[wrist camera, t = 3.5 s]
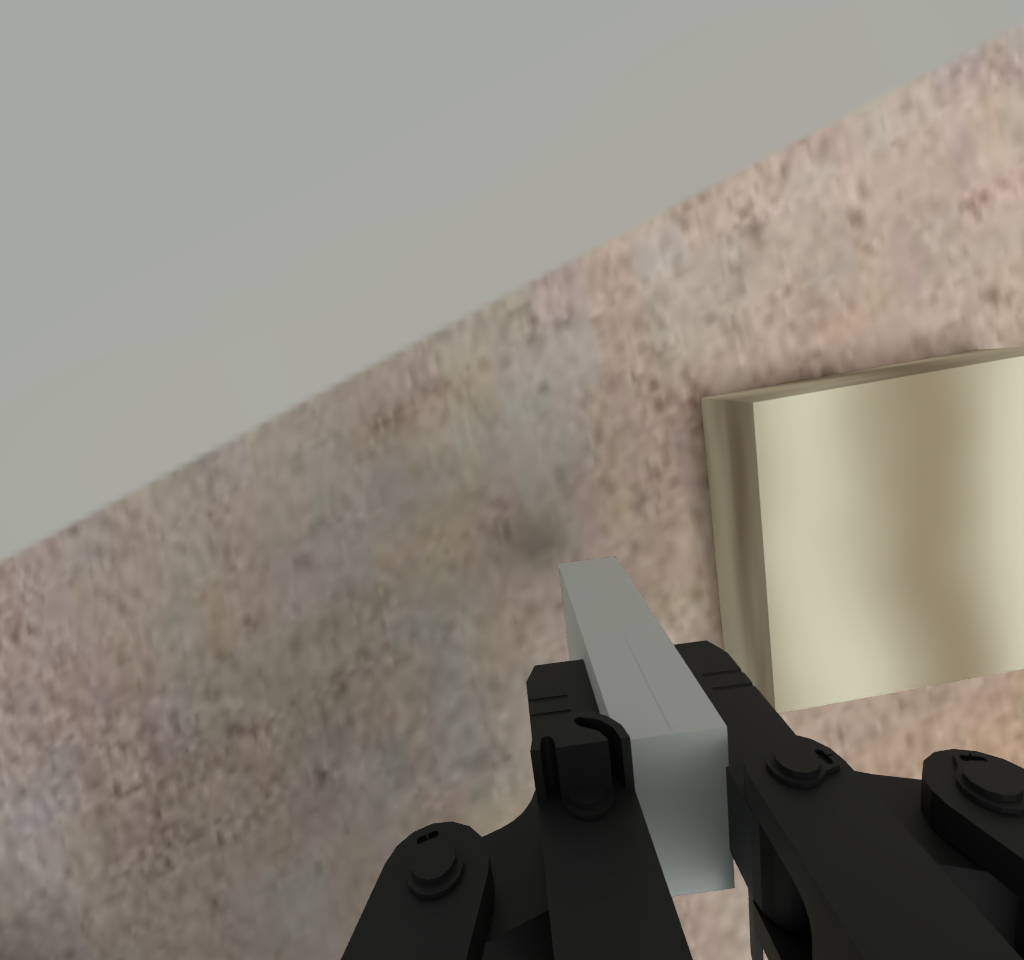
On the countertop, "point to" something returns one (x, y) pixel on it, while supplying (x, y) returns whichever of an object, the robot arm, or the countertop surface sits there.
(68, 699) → the countertop surface
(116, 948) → the countertop surface
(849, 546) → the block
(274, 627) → the countertop surface
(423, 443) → the countertop surface
